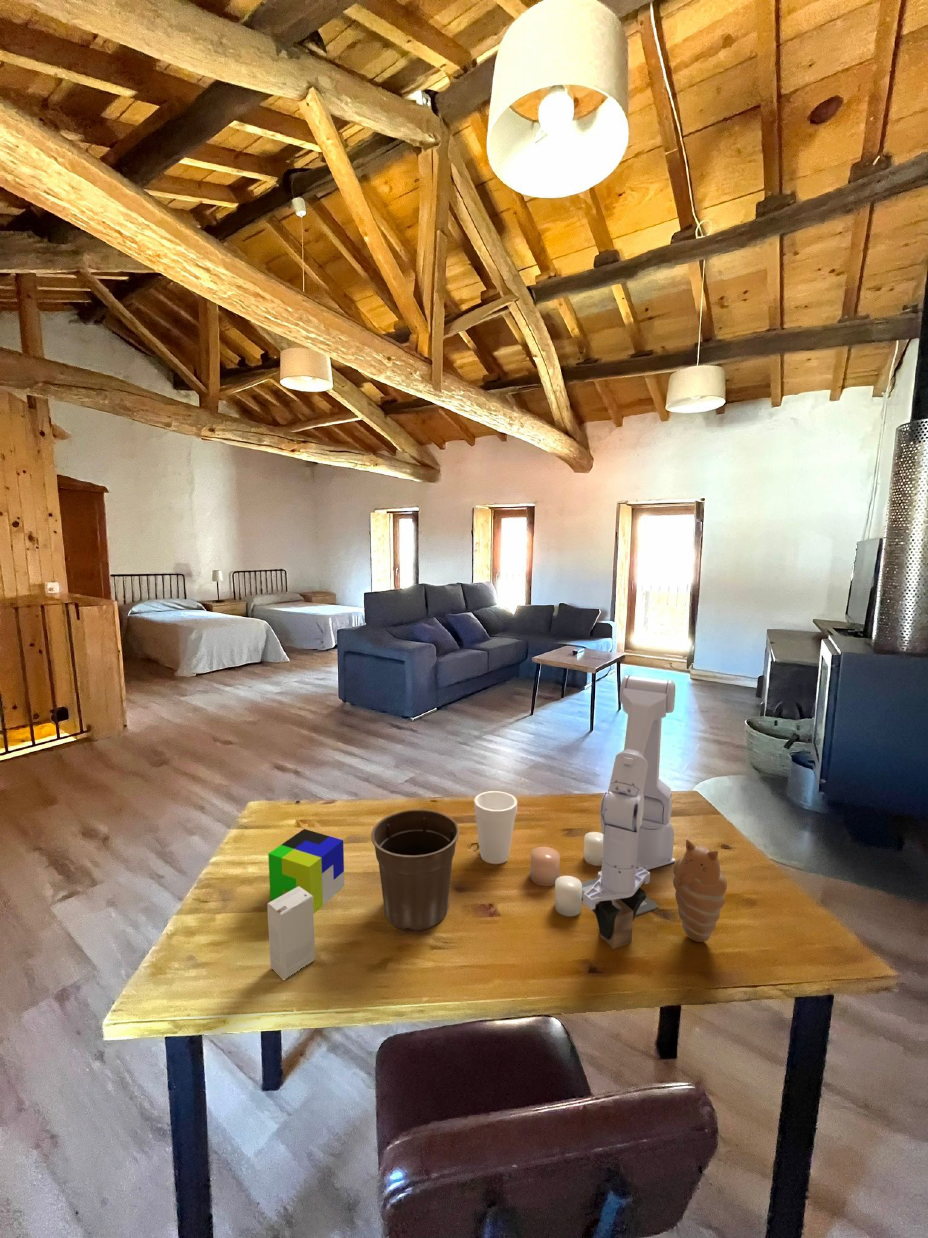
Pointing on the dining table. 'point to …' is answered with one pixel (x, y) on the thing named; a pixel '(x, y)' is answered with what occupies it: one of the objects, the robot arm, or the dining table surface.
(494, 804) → the foam cup
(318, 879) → the puzzle toy
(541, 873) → the peach rounded blob
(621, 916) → the walnut block
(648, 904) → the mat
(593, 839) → the cream rounded cylinder
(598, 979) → the dining table surface
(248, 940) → the dining table surface
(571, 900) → the cream rounded capsule
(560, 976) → the dining table surface
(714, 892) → the cat ice cream
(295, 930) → the skincare box
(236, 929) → the dining table surface
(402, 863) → the plant pot
